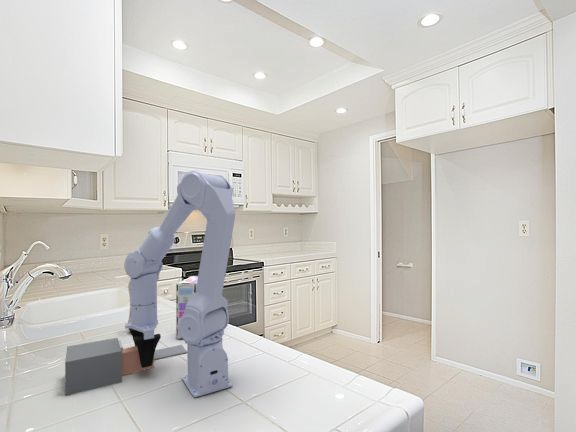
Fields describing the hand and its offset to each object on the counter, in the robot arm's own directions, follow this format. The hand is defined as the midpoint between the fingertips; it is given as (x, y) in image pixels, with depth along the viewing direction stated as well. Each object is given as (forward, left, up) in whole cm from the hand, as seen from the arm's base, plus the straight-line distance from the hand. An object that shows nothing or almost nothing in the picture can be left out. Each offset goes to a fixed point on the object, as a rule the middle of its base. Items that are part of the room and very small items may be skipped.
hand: (144, 361), depth 77 cm
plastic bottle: (+29, -3, -2) cm, 29 cm away
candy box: (+19, -17, -2) cm, 25 cm away
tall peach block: (0, +4, -2) cm, 4 cm away
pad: (+6, -4, -1) cm, 7 cm away
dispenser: (0, +10, -1) cm, 10 cm away
